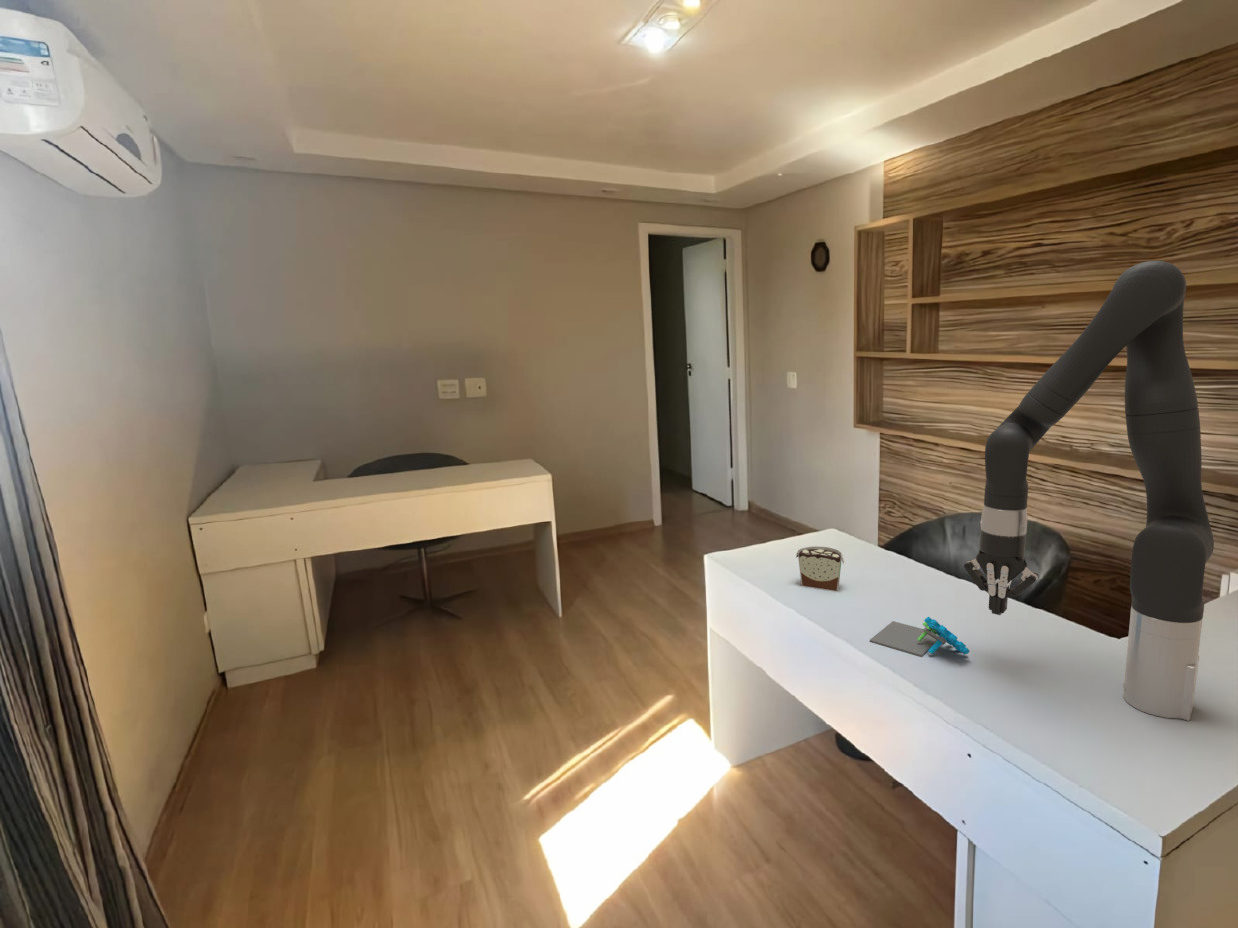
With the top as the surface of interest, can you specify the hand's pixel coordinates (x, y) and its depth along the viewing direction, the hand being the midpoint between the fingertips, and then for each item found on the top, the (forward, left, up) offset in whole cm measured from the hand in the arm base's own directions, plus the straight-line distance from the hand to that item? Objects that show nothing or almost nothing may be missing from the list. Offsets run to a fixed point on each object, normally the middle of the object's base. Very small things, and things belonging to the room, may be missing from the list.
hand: (997, 612), depth 126 cm
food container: (+46, -17, -11) cm, 50 cm away
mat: (+17, 0, -11) cm, 20 cm away
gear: (+8, 0, -12) cm, 14 cm away
